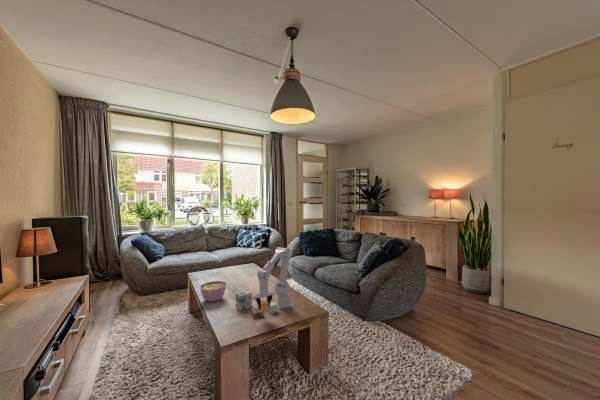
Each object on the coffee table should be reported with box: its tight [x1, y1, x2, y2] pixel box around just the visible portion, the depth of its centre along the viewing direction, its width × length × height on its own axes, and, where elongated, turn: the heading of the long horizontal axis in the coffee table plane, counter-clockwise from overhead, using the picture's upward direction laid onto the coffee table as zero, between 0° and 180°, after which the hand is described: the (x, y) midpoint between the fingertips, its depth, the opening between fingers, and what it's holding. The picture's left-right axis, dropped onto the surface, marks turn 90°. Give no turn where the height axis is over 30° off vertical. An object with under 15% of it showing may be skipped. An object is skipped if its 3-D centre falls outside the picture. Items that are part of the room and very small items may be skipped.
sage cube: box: [267, 301, 278, 315], centre depth 172 cm, size 5×5×6 cm
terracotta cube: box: [260, 299, 269, 313], centre depth 161 cm, size 5×5×6 cm
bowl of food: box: [199, 280, 227, 303], centre depth 193 cm, size 20×20×12 cm
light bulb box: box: [235, 289, 253, 311], centre depth 180 cm, size 11×7×11 cm, turn 126°
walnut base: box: [251, 307, 265, 319], centre depth 167 cm, size 7×7×4 cm
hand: (264, 307), depth 161 cm, fingers closed on terracotta cube, 6 cm apart
